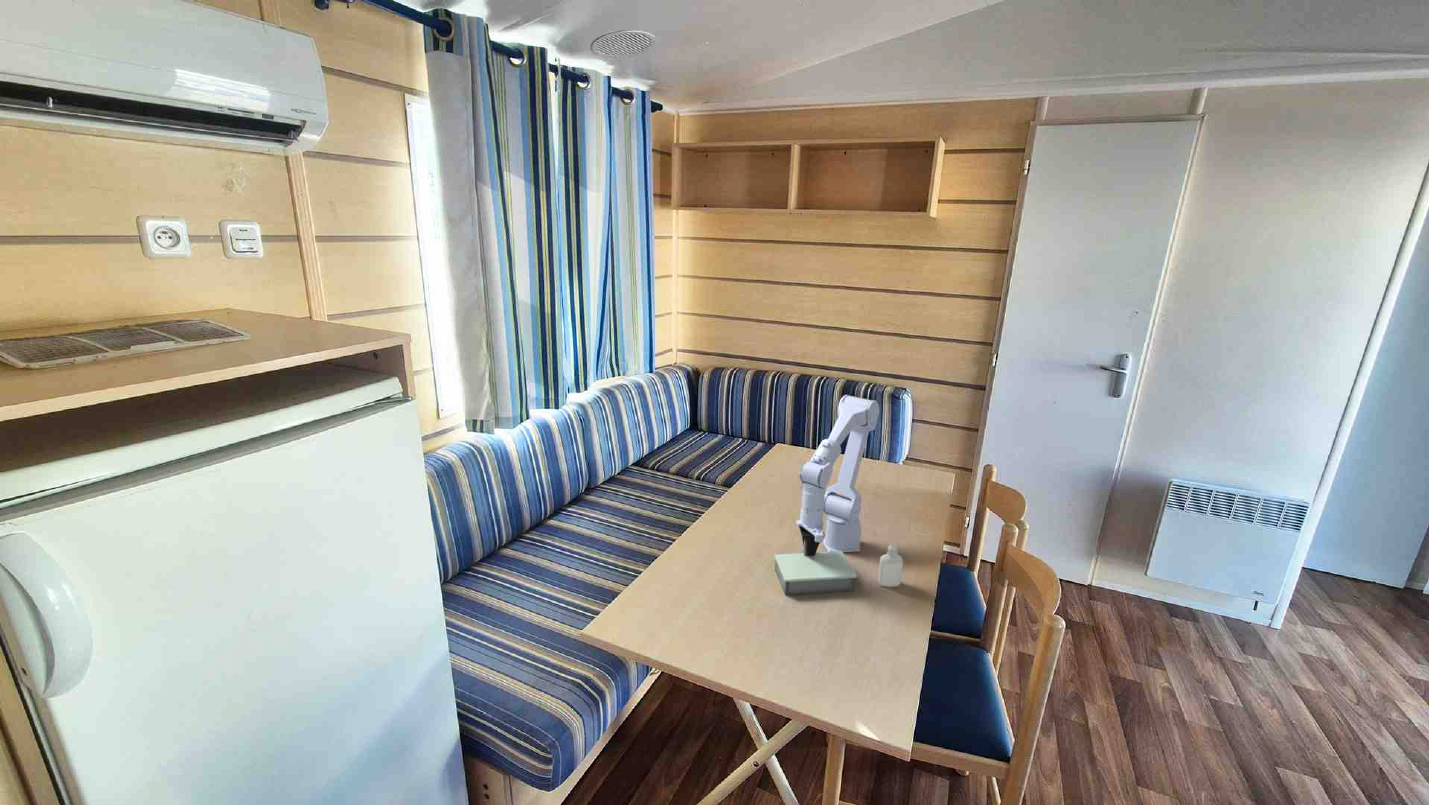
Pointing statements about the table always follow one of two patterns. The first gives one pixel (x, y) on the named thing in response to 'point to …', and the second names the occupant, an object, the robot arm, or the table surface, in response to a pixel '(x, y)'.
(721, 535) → the table surface
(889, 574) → the eye dropper bottle
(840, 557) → the tub lid
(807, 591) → the parts tub
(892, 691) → the table surface
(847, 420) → the robot arm
